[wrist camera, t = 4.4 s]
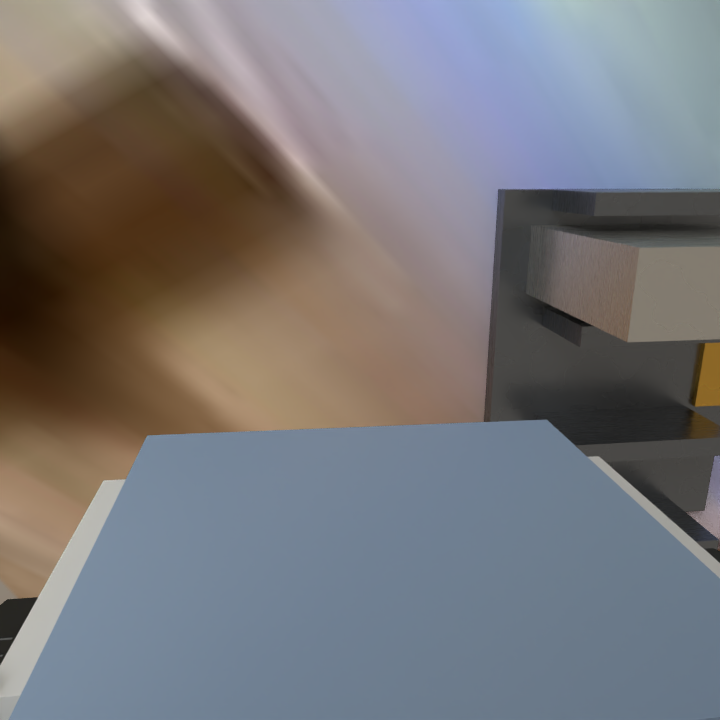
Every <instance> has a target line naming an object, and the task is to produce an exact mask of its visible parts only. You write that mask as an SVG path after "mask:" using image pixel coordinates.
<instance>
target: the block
mask: <svg viewBox="0 0 720 720" xmlns="http://www.w3.org/2000/svg"><path fill="white" fill-rule="evenodd" d="M9 720H720V578H719V577H718V576H717V575H716V574H715V573H713V572H712V571H711V570H710V569H709V568H708V567H707V566H706V565H705V564H704V563H703V562H701V561H700V560H699V559H698V558H697V557H696V556H695V555H694V554H693V553H692V552H691V551H689V550H688V549H687V548H686V547H685V546H684V545H683V544H682V543H681V542H680V541H679V540H677V539H676V538H675V537H674V536H673V535H672V534H671V533H670V532H669V531H668V530H667V529H665V528H664V527H663V526H662V525H661V524H660V523H659V522H658V521H657V520H656V519H655V518H653V517H652V516H651V515H650V514H649V513H648V512H647V511H646V510H645V509H644V508H643V507H641V506H640V505H639V504H638V503H637V502H636V501H635V500H634V499H633V498H632V497H631V496H629V495H628V494H627V493H626V492H625V491H624V490H623V489H622V488H621V487H620V486H619V485H617V484H616V483H615V482H614V481H613V480H612V479H611V478H610V477H609V476H608V475H607V474H605V473H604V472H603V471H602V470H601V469H600V468H599V467H598V466H597V465H596V464H595V463H593V462H592V461H591V460H590V459H589V458H588V457H587V456H586V455H585V454H584V453H583V452H582V451H580V450H579V449H578V448H577V447H576V446H575V445H574V444H573V443H572V442H571V441H570V440H568V439H567V438H566V437H565V436H564V435H563V434H562V433H561V432H560V431H559V430H558V429H556V428H555V427H554V426H553V425H552V424H551V423H550V422H549V421H548V420H525V421H500V422H475V423H450V424H425V425H400V426H375V427H350V428H325V429H300V430H275V431H250V432H225V433H200V434H175V435H150V436H147V437H146V439H145V441H144V443H143V445H142V447H141V449H140V452H139V454H138V456H137V458H136V460H135V462H134V464H133V466H132V468H131V470H130V472H129V474H128V476H127V478H126V480H125V482H124V484H123V486H122V488H121V490H120V492H119V495H118V497H117V499H116V501H115V503H114V505H113V507H112V509H111V511H110V513H109V515H108V517H107V519H106V521H105V523H104V525H103V527H102V529H101V531H100V533H99V535H98V538H97V540H96V542H95V544H94V546H93V548H92V550H91V552H90V554H89V556H88V558H87V560H86V562H85V564H84V566H83V568H82V570H81V572H80V574H79V576H78V579H77V581H76V583H75V585H74V587H73V589H72V591H71V593H70V595H69V597H68V599H67V601H66V603H65V605H64V607H63V609H62V611H61V613H60V615H59V617H58V619H57V622H56V624H55V626H54V628H53V630H52V632H51V634H50V636H49V638H48V640H47V642H46V644H45V646H44V648H43V650H42V652H41V654H40V656H39V658H38V660H37V662H36V665H35V667H34V669H33V671H32V673H31V675H30V677H29V679H28V681H27V683H26V685H25V687H24V689H23V691H22V693H21V695H20V697H19V699H18V701H17V703H16V705H15V708H14V710H13V712H12V714H11V716H10V718H9Z"/></svg>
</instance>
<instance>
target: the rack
mask: <svg viewBox="0 0 720 720" xmlns="http://www.w3.org/2000/svg"><path fill="white" fill-rule="evenodd" d="M525 420H548V421H549V422H550V423H551V424H552V425H553V426H554V427H555V428H556V429H558V430H559V431H560V432H561V433H562V434H563V435H564V436H565V437H566V438H567V439H568V440H570V441H571V442H572V443H573V444H574V445H575V446H576V447H577V448H578V449H579V450H580V451H582V452H583V453H584V454H585V455H586V456H587V457H593V456H599V457H600V458H601V459H602V460H604V461H605V462H606V463H607V464H608V465H609V466H610V467H612V468H613V469H614V470H615V471H616V472H617V473H618V474H619V475H621V476H622V477H623V478H624V479H625V480H626V481H627V482H629V483H630V484H631V485H632V486H633V487H634V488H635V489H636V490H638V491H639V492H640V493H641V494H642V495H643V496H644V497H646V498H647V499H648V500H649V501H650V502H651V503H652V504H654V505H655V506H656V507H657V508H658V509H659V510H660V511H661V512H663V513H664V514H665V515H666V516H667V517H668V518H669V519H671V520H672V521H673V522H674V523H675V524H676V525H677V526H678V527H680V528H681V529H682V530H683V531H684V532H685V533H686V534H688V535H689V536H690V537H691V538H692V539H693V540H694V541H695V542H697V543H698V544H699V545H700V546H701V547H702V548H703V549H707V548H714V549H716V550H717V547H718V542H719V540H718V539H717V538H716V537H715V536H714V535H712V534H711V533H710V532H709V531H707V530H706V529H705V528H704V527H703V526H701V525H700V524H699V523H698V522H697V521H695V520H694V519H693V518H692V517H691V516H689V515H688V514H687V513H686V512H689V511H703V510H705V505H706V499H707V493H708V488H709V482H710V477H711V471H712V465H713V460H714V456H718V455H720V189H498V205H497V221H496V238H495V254H494V270H493V286H492V302H491V318H490V334H489V351H488V367H487V383H486V399H485V415H484V422H500V421H525Z"/></svg>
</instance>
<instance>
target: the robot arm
mask: <svg viewBox="0 0 720 720" xmlns="http://www.w3.org/2000/svg"><path fill="white" fill-rule="evenodd" d="M588 458H589V459H590V460H591V461H592V462H593V463H595V464H596V465H597V466H598V467H599V468H600V469H601V470H602V471H603V472H604V473H605V474H607V475H608V476H609V477H610V478H611V479H612V480H613V481H614V482H615V483H616V484H617V485H619V486H620V487H621V488H622V489H623V490H624V491H625V492H626V493H627V494H628V495H629V496H631V497H632V498H633V499H634V500H635V501H636V502H637V503H638V504H639V505H640V506H641V507H643V508H644V509H645V510H646V511H647V512H648V513H649V514H650V515H651V516H652V517H653V518H655V519H656V520H657V521H658V522H659V523H660V524H661V525H662V526H663V527H664V528H665V529H667V530H668V531H669V532H670V533H671V534H672V535H673V536H674V537H675V538H676V539H677V540H679V541H680V542H681V543H682V544H683V545H684V546H685V547H686V548H687V549H688V550H689V551H691V552H692V553H693V554H694V555H695V556H696V557H697V558H698V559H699V560H700V561H701V562H703V563H704V564H705V565H706V566H707V567H708V568H709V569H710V570H711V571H712V572H713V573H715V574H716V575H717V576H718V577H719V578H720V551H718V550H716V549H714V548H707V549H703V548H702V547H701V546H700V545H699V544H698V543H697V542H695V541H694V540H693V539H692V538H691V537H690V536H689V535H688V534H686V533H685V532H684V531H683V530H682V529H681V528H680V527H678V526H677V525H676V524H675V523H674V522H673V521H672V520H671V519H669V518H668V517H667V516H666V515H665V514H664V513H663V512H661V511H660V510H659V509H658V508H657V507H656V506H655V505H654V504H652V503H651V502H650V501H649V500H648V499H647V498H646V497H644V496H643V495H642V494H641V493H640V492H639V491H638V490H636V489H635V488H634V487H633V486H632V485H631V484H630V483H629V482H627V481H626V480H625V479H624V478H623V477H622V476H621V475H619V474H618V473H617V472H616V471H615V470H614V469H613V468H612V467H610V466H609V465H608V464H607V463H606V462H605V461H604V460H602V459H601V458H600V457H599V456H593V457H588ZM124 482H125V480H105V481H103V482H102V484H101V486H100V488H99V490H98V491H97V493H96V495H95V497H94V499H93V500H92V502H91V504H90V506H89V507H88V509H87V511H86V513H85V515H84V516H83V518H82V520H81V522H80V524H79V525H78V527H77V529H76V531H75V533H74V534H73V536H72V538H71V540H70V541H69V543H68V545H67V547H66V549H65V550H64V552H63V554H62V556H61V558H60V559H59V561H58V563H57V565H56V566H55V568H54V570H53V572H52V574H51V575H50V577H49V579H48V581H47V583H46V584H45V586H44V588H43V590H42V592H41V593H40V595H39V597H36V598H22V599H8V600H6V601H5V602H4V603H2V604H1V605H0V720H9V718H10V716H11V714H12V712H13V710H14V708H15V705H16V703H17V701H18V699H19V697H20V695H21V693H22V691H23V689H24V687H25V685H26V683H27V681H28V679H29V677H30V675H31V673H32V671H33V669H34V667H35V665H36V662H37V660H38V658H39V656H40V654H41V652H42V650H43V648H44V646H45V644H46V642H47V640H48V638H49V636H50V634H51V632H52V630H53V628H54V626H55V624H56V622H57V619H58V617H59V615H60V613H61V611H62V609H63V607H64V605H65V603H66V601H67V599H68V597H69V595H70V593H71V591H72V589H73V587H74V585H75V583H76V581H77V579H78V576H79V574H80V572H81V570H82V568H83V566H84V564H85V562H86V560H87V558H88V556H89V554H90V552H91V550H92V548H93V546H94V544H95V542H96V540H97V538H98V535H99V533H100V531H101V529H102V527H103V525H104V523H105V521H106V519H107V517H108V515H109V513H110V511H111V509H112V507H113V505H114V503H115V501H116V499H117V497H118V495H119V492H120V490H121V488H122V486H123V484H124Z"/></svg>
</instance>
